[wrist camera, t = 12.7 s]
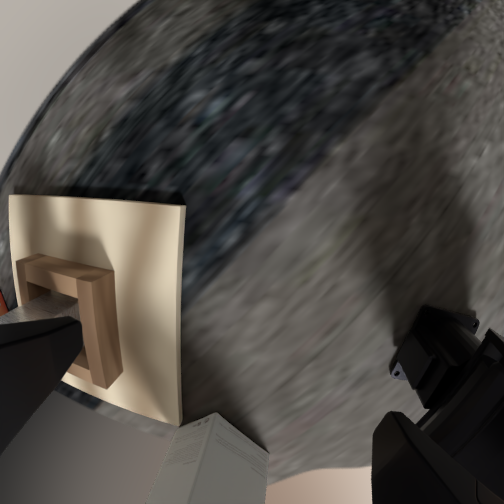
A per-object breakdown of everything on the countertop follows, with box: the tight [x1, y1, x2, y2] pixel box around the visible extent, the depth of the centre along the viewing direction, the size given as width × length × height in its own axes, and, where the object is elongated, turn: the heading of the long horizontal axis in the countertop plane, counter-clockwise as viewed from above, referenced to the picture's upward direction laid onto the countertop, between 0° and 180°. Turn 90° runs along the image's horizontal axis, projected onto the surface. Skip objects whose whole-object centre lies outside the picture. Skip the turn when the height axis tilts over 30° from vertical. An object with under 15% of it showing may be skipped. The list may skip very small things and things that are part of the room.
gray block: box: [0, 290, 85, 347], centre depth 15 cm, size 4×4×13 cm
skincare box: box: [145, 412, 270, 504], centre depth 17 cm, size 8×6×15 cm
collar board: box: [9, 194, 186, 426], centre depth 21 cm, size 20×20×4 cm
